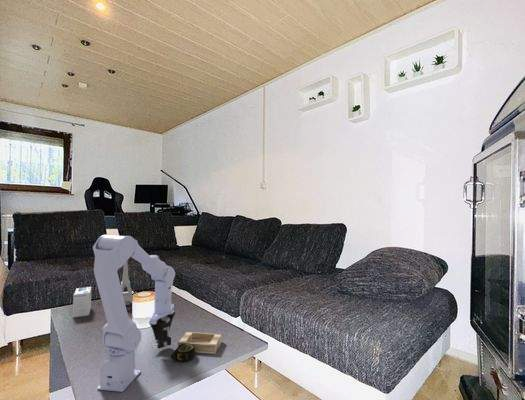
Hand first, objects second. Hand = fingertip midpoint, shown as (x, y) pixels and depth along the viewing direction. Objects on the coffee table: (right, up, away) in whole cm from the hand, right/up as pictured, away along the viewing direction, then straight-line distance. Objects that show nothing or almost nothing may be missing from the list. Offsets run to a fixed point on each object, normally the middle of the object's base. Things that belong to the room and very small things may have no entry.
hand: (162, 335), depth 102 cm
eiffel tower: (-34, -5, +42) cm, 54 cm away
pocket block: (+13, -5, +2) cm, 14 cm away
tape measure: (+9, -5, -5) cm, 12 cm away
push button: (0, -4, -1) cm, 4 cm away
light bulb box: (-50, -5, +32) cm, 60 cm away
